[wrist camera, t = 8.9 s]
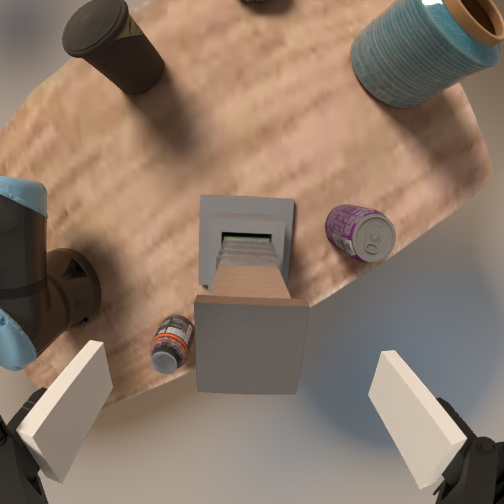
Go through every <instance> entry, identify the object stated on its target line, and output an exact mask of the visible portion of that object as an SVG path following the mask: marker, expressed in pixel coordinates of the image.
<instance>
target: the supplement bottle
mask: <svg viewBox="0 0 504 504" xmlns="http://www.w3.org/2000/svg"><path fill="white" fill-rule="evenodd" d="M193 336H194V328H193V326H192V324H191V322H190V321H189V320H188V319H186V318H185V317H183V316H180V315H172V316H169V317H167V318H166V319H165V320H164V321H163V322H162V324H161V326H160V328H159V329H158V331H157V333H156V335H155V337H154V339H153V341H152V343H151V345H150V356H151V364H152V366H153V367H154V369H155V370H157V371H158V372H160V373H163V374H171V373H173V372H174V371H175V370H176V369H177V368H180V367H181V366H183V364H184V363H185V362H186V360H187V356H188V353H189V349H190V346H191V343H192V340H193Z"/></svg>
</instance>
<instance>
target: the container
mask: <svg viewBox="0 0 504 504" xmlns="http://www.w3.org/2000/svg"><path fill="white" fill-rule="evenodd" d="M62 42H63V47H64V50H65V51H66V52H67V53H68V54H69V55H70V56H72V57H75V58H83V59H84V60H86V61H87V62H88V63H90V64H91V65H92V66H93V67H95V68H96V69H97V70H98V71H100V72H101V73H102V74H103V75H105V76H106V77H107V78H108V79H109V80H111V81H112V82H113V83H114V84H115V85H116V86H117V87H119V88H120V89H121V90H122V91H124V92H126V93H128V94H140V93H143V92H145V91H147V90H149V89H150V88H152V87H153V86H154V85H155V84H156V83H157V82H158V80H159V79H160V77H161V75H162V73H163V68H164V63H163V60H162V58H161V56H160V55H159V53H158V52H157V51H156V49H155V48H154V47H153V45H152V44H151V42H150V41H149V40H148V38H147V37H146V36H145V34H144V33H143V31H142V30H141V29H140V28H139V26H138V25H137V24H136V22H135V21H134V20H133V18H132V17H131V16H130V14H129V11H128V6H127V3H126V2H125V1H124V0H92V1H90V2H88V3H87V4H85V5H83V6H82V7H81V8H79V10H78V11H76V12H75V14H73V16H72V17H71V18H70V20H69V21H68V23H67V25H66V26H65V29H64V32H63V37H62Z"/></svg>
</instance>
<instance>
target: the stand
mask: <svg viewBox="0 0 504 504" xmlns="http://www.w3.org/2000/svg"><path fill="white" fill-rule="evenodd" d="M293 209H294V199H283V198H266V197H248V196H224V195H201V198H200V231H199V285H208V291H211V289H212V285H213V282H214V279H215V275H216V257H217V256H219V249H221V244H223V240H224V236H243V237H265V238H269V239H270V241H269V242H271V243H272V247H274V252H276V253H277V258H279V259H280V270H279V271H280V273H281V276H282V278H283V280H284V283H285V285H286V287H287V285H288V274H289V262H290V250H291V237H292V223H293Z"/></svg>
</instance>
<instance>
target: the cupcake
mask: <svg viewBox="0 0 504 504" xmlns="http://www.w3.org/2000/svg"><path fill="white" fill-rule="evenodd" d="M242 1H246V2H249V3H260V2H265V1H268V0H242Z"/></svg>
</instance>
